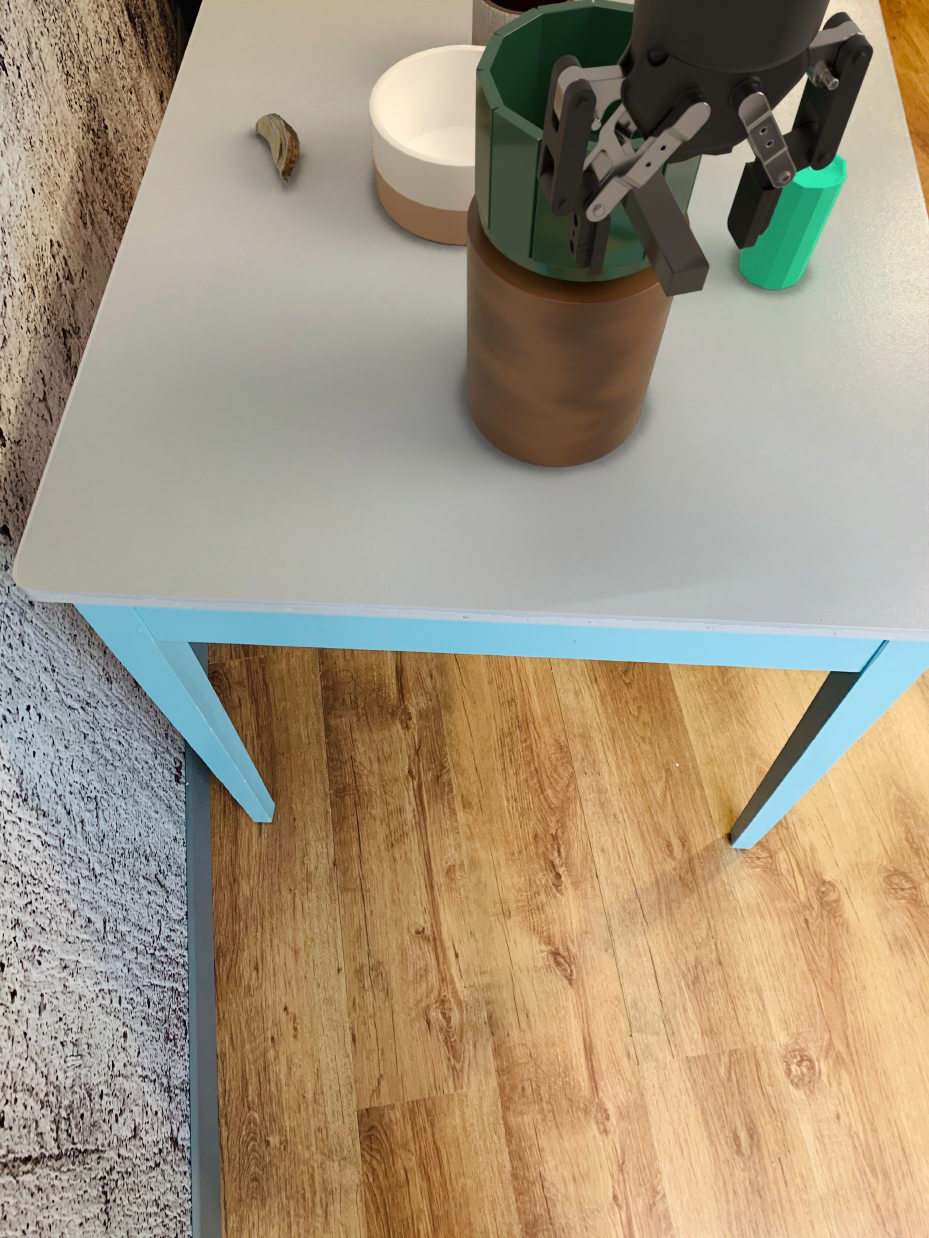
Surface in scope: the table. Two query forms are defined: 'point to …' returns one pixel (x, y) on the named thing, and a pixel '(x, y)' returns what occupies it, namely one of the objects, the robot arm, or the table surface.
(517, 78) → the pot
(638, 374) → the stand
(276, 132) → the oyster shell
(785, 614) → the table surface
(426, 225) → the bowl
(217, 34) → the table surface
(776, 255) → the candle
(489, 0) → the planter
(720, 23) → the robot arm
